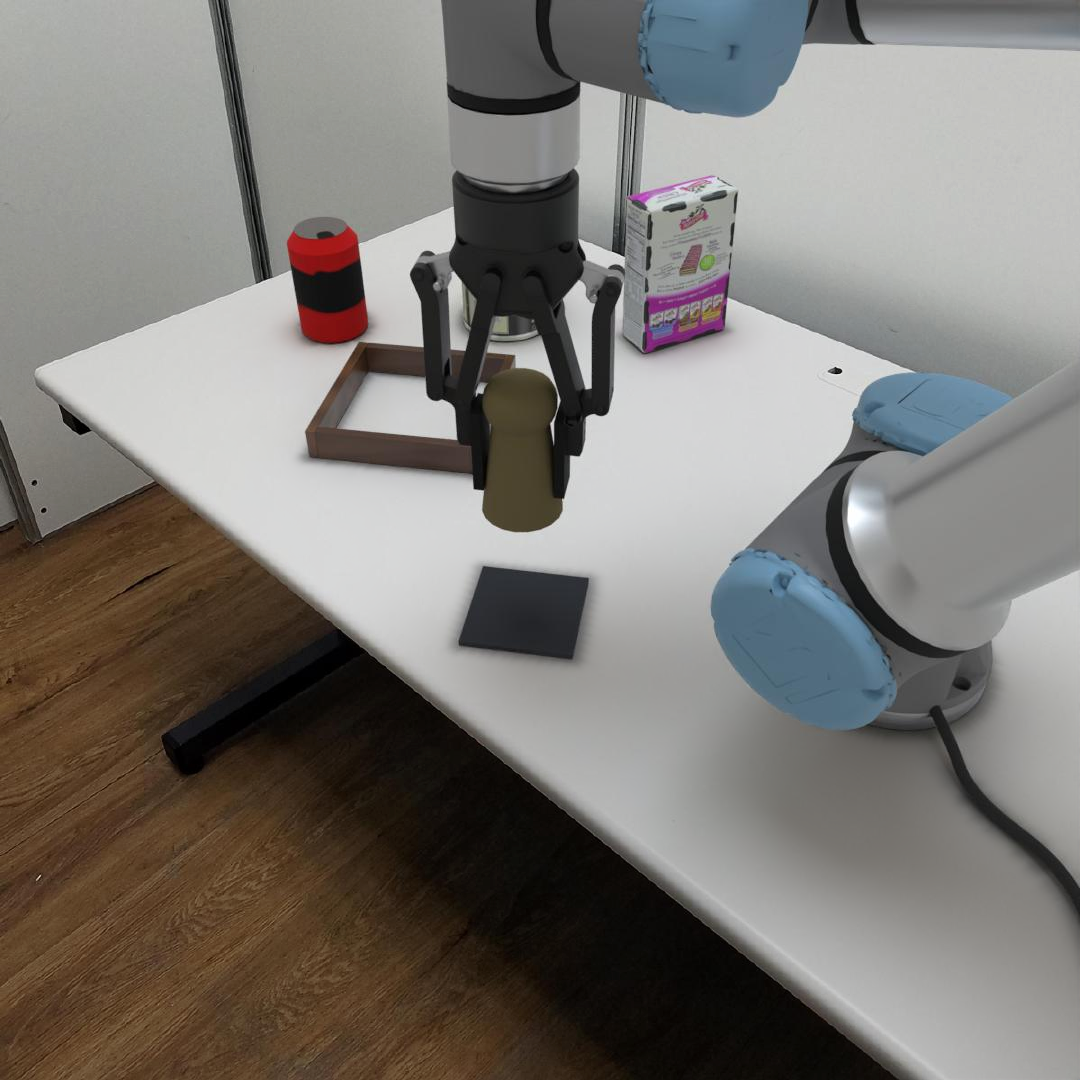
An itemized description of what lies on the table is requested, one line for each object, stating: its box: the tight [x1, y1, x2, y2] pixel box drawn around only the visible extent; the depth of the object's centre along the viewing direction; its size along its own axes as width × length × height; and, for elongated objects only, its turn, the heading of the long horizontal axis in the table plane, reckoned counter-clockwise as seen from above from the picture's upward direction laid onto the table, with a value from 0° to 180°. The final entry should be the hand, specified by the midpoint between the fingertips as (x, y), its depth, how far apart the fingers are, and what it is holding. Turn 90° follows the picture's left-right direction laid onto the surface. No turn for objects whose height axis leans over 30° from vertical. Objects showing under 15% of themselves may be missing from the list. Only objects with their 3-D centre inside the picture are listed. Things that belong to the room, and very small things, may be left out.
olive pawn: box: [481, 367, 564, 533], centre depth 75 cm, size 6×6×11 cm
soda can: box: [286, 216, 369, 344], centre depth 118 cm, size 8×8×12 cm
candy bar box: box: [622, 174, 739, 354], centre depth 115 cm, size 11×5×16 cm, turn 119°
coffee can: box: [461, 281, 539, 342], centre depth 118 cm, size 10×10×14 cm
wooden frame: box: [304, 341, 517, 474], centre depth 107 cm, size 17×17×3 cm
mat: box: [458, 565, 589, 660], centre depth 86 cm, size 9×9×1 cm
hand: (522, 482), depth 78 cm, fingers closed on olive pawn, 5 cm apart
